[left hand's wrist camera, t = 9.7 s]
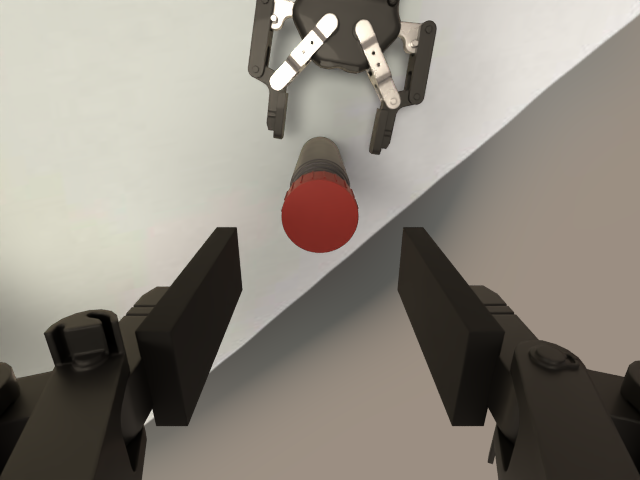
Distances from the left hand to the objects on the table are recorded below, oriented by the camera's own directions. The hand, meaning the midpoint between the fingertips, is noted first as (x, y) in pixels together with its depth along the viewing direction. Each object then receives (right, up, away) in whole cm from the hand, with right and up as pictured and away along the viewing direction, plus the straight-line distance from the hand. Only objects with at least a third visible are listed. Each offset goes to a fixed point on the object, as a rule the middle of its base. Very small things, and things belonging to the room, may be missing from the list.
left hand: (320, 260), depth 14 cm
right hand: (+1, +9, +18) cm, 20 cm away
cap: (0, +2, +5) cm, 6 cm away
